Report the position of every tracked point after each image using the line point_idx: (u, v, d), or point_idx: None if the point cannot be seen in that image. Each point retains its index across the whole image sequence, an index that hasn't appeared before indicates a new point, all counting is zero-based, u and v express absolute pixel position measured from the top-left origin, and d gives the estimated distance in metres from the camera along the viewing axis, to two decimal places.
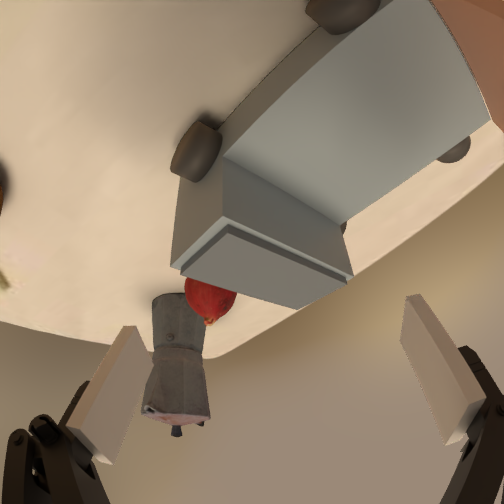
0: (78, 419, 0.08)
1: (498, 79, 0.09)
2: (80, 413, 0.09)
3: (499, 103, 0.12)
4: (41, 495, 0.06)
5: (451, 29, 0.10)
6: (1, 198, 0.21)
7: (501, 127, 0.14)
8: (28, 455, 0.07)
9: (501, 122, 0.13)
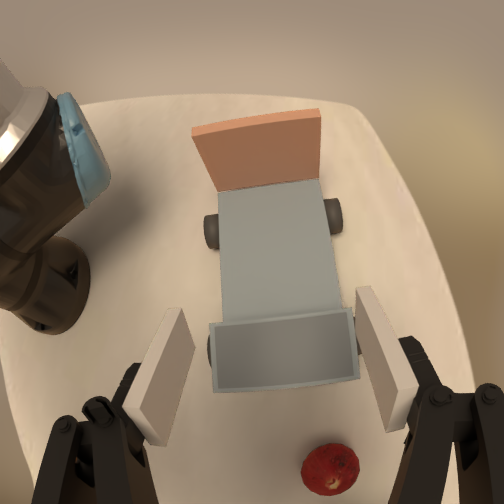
0: (136, 399, 0.09)
1: (257, 167, 0.32)
2: (137, 393, 0.10)
3: (284, 169, 0.32)
4: (80, 487, 0.07)
5: (244, 186, 0.35)
6: None
7: (314, 171, 0.33)
8: (73, 445, 0.08)
9: (307, 170, 0.33)
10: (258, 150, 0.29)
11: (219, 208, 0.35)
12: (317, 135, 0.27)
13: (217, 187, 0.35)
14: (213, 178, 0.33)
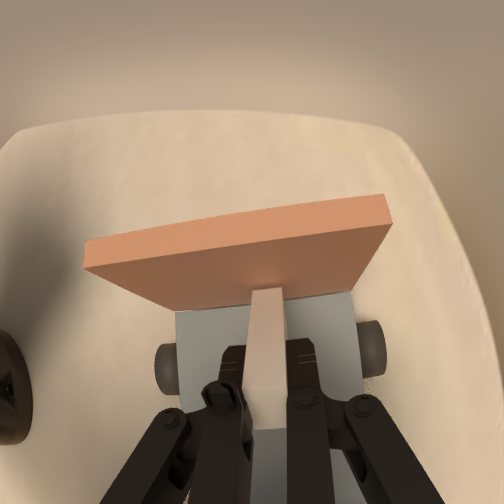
0: (255, 378, 0.10)
1: (237, 292, 0.17)
2: (255, 372, 0.10)
3: (290, 290, 0.17)
4: (168, 491, 0.07)
5: (217, 306, 0.20)
6: None
7: (346, 286, 0.18)
8: (176, 446, 0.08)
9: (334, 286, 0.18)
10: (236, 277, 0.14)
11: (178, 343, 0.20)
12: (370, 250, 0.12)
13: (171, 308, 0.20)
14: (159, 303, 0.18)
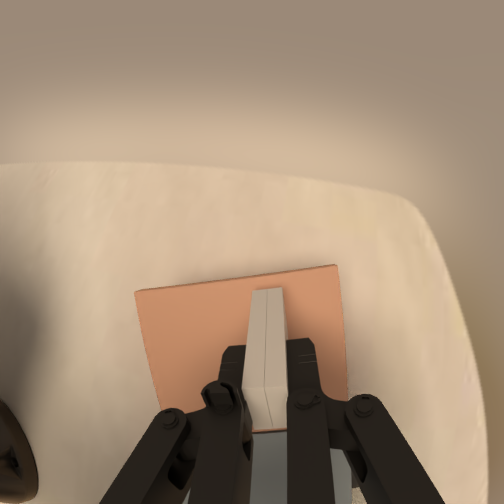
0: (255, 378, 0.10)
1: None
2: (254, 372, 0.10)
3: None
4: (168, 491, 0.07)
5: None
6: None
7: None
8: (176, 446, 0.08)
9: None
10: (235, 344, 0.17)
11: None
12: (336, 311, 0.16)
13: None
14: (161, 398, 0.18)
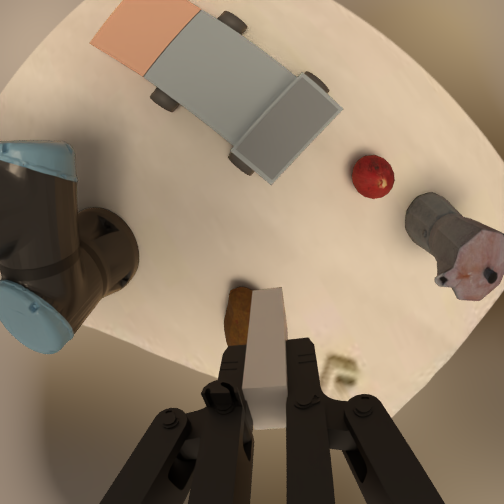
0: (256, 378, 0.10)
1: (147, 33, 0.30)
2: (255, 372, 0.10)
3: (167, 21, 0.29)
4: (168, 491, 0.07)
5: (156, 56, 0.32)
6: (251, 290, 0.47)
7: (190, 6, 0.29)
8: (176, 446, 0.08)
9: (184, 9, 0.29)
10: (134, 21, 0.28)
11: (155, 84, 0.34)
12: None
13: (138, 72, 0.33)
14: (128, 65, 0.32)
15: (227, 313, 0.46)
